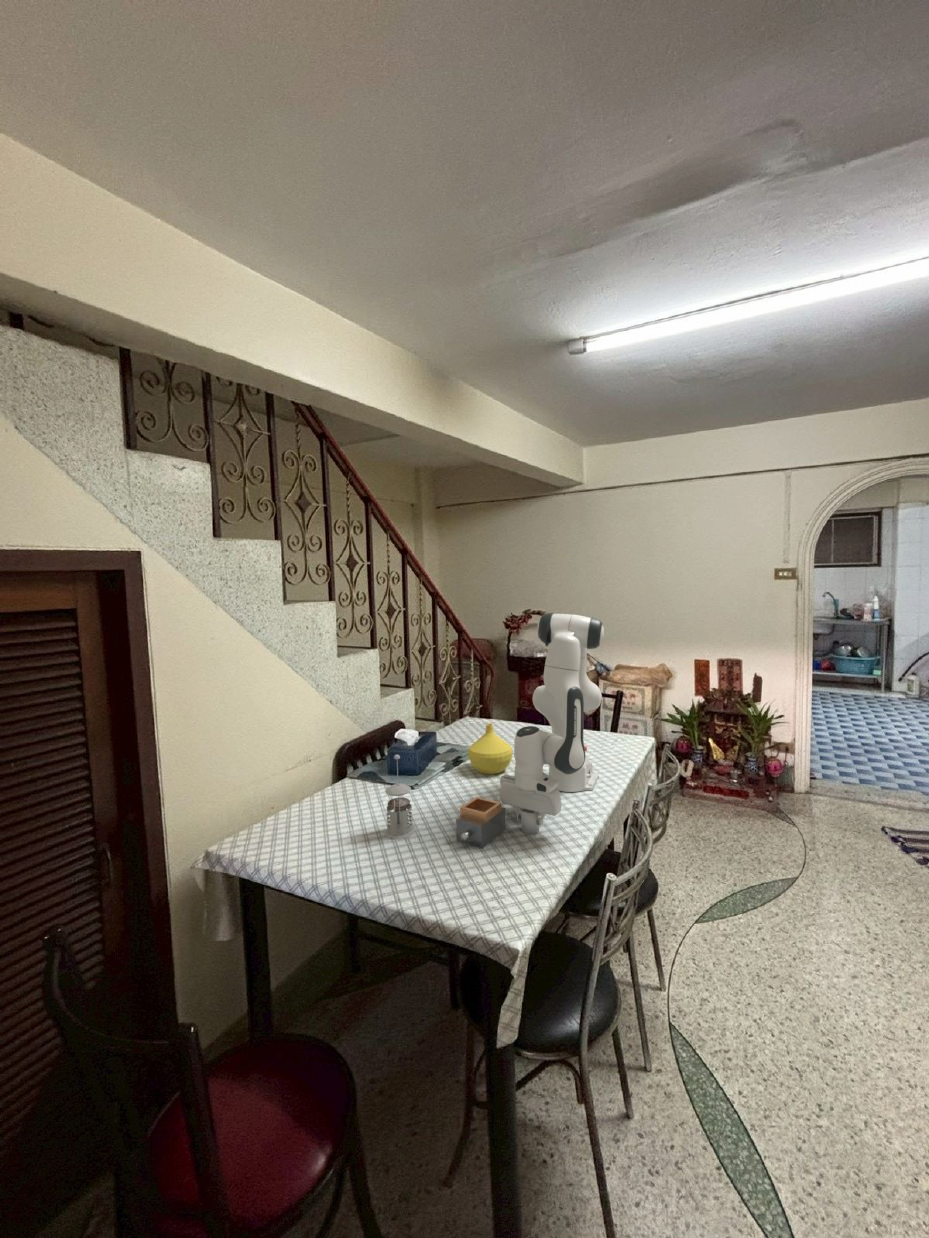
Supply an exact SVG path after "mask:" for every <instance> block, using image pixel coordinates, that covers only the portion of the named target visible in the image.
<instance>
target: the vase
mask: <svg viewBox="0 0 929 1238" xmlns="http://www.w3.org/2000/svg"><path fill="white" fill-rule="evenodd" d="M513 755H514V749H513V747H512V746H511V744H510V743H508V742H507V741H505V740H504V739H503V738H501V737H500V736H498V735H497V734H496V733H495V732H494V724H493V723H486V724H485V733H484V734H483V735H482V736H480V737H479V738H478V739H477V740H476V741H475V742H473V743H471V744H470V746H469V747H468V750H467V756H468V759H469V762H470V763H471V765H472V766H473V767H474V769H475V770H476V771H477V772H478V773H481V774H485V775H498V774H501V773H502V772H504V771H505V770H506V769H507V768H508V766H509V765H510V763H511V762H512V761H511V760H513V759H512V758H513Z"/></svg>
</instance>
